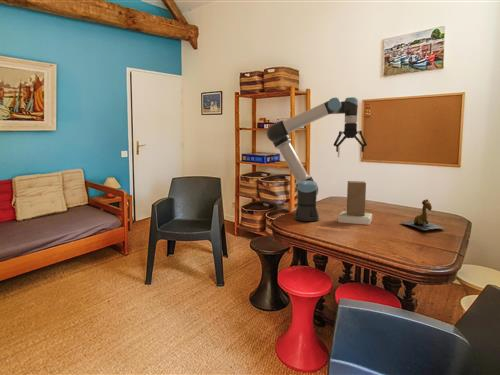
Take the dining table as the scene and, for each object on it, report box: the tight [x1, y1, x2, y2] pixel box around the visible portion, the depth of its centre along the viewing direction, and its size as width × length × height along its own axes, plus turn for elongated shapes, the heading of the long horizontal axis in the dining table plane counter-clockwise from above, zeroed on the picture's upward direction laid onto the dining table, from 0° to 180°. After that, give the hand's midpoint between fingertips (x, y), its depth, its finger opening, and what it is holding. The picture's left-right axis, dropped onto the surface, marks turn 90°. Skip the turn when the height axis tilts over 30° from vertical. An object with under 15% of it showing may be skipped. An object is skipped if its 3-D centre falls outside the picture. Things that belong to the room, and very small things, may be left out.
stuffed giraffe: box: [401, 198, 447, 231], centre depth 194 cm, size 16×18×16 cm
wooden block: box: [346, 180, 367, 216], centre depth 207 cm, size 10×10×20 cm
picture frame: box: [337, 210, 373, 226], centre depth 208 cm, size 18×18×4 cm
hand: (349, 157), depth 213 cm, fingers open, 13 cm apart
